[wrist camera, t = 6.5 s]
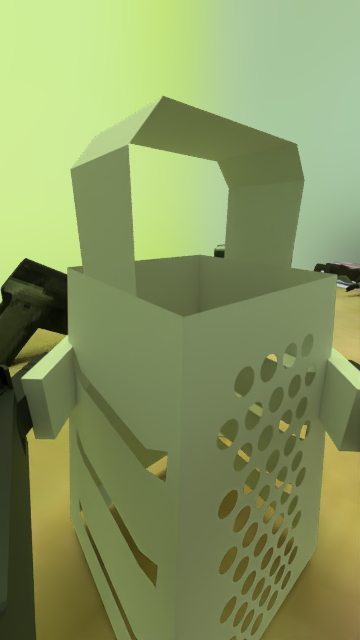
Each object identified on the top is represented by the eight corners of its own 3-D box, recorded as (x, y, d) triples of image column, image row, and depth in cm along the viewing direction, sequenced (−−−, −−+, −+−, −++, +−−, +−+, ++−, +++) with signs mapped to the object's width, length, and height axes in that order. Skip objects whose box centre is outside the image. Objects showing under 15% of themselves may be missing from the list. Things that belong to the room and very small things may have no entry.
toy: (285, 280, 91) (364, 312, 65) (289, 256, 88) (375, 279, 62) (349, 275, 100) (441, 301, 74) (356, 253, 97) (454, 272, 71)
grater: (316, 548, 15) (448, 135, 8) (171, 779, 9) (158, -223, 2) (194, 437, 22) (203, 176, 15) (70, 518, 16) (-11, 144, 9)
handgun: (126, 388, 46) (160, 312, 45) (-43, 360, 32) (0, 249, 31) (122, 381, 48) (155, 308, 47) (-39, 352, 34) (1, 248, 33)
